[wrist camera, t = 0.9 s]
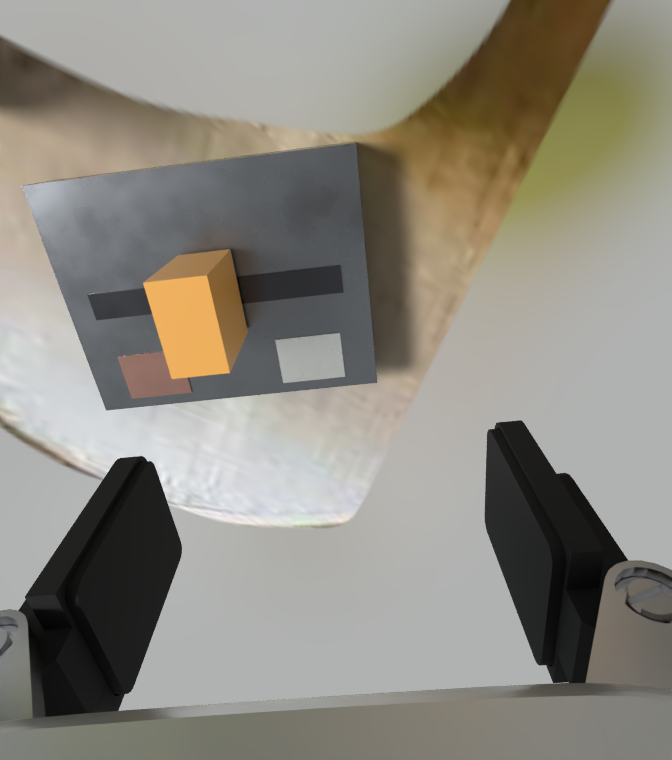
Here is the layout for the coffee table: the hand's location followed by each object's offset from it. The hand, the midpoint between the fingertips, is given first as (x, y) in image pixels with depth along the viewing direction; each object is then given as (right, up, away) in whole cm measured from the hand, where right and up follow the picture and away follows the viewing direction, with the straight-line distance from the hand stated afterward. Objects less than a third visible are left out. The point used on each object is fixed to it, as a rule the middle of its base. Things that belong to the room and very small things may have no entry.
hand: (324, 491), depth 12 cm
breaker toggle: (-7, +8, +17) cm, 20 cm away
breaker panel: (-7, +9, +20) cm, 23 cm away
